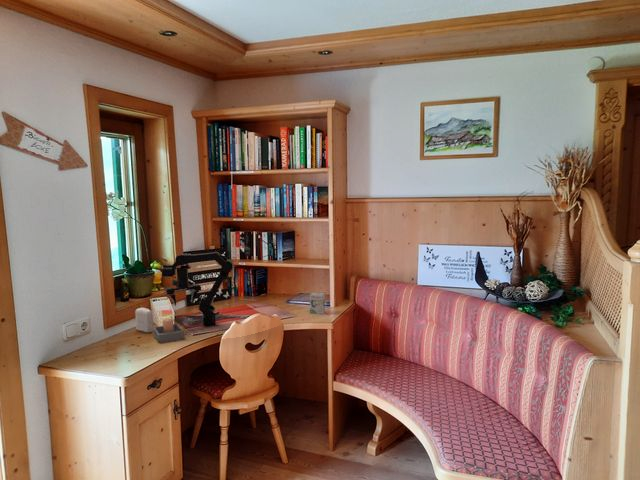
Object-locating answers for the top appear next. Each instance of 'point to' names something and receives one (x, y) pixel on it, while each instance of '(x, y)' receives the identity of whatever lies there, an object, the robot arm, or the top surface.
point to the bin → (168, 334)
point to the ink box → (317, 303)
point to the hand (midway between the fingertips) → (183, 304)
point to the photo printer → (144, 320)
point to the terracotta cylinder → (168, 326)
